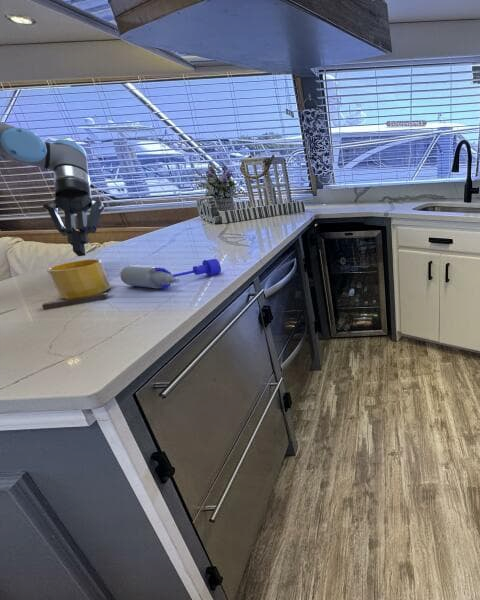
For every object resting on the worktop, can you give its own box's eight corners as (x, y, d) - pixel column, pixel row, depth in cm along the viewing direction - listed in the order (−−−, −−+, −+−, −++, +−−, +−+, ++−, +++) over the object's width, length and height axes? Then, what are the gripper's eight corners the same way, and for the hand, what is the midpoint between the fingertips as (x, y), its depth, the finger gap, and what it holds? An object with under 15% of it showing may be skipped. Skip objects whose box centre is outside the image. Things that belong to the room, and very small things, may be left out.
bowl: (51, 302, 81) (35, 272, 78) (78, 288, 90) (66, 261, 87) (97, 297, 83) (84, 268, 80) (119, 284, 92) (108, 257, 89)
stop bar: (43, 309, 77) (41, 305, 77) (46, 307, 78) (44, 302, 78) (107, 298, 82) (105, 294, 82) (108, 296, 84) (106, 292, 83)
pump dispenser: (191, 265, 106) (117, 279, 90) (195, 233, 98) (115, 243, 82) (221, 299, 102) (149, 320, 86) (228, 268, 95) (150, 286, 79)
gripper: (106, 193, 101) (115, 256, 94) (51, 197, 95) (56, 264, 88) (94, 175, 94) (102, 242, 87) (34, 178, 89) (38, 249, 82)
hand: (79, 253), depth 88 cm, fingers closed
